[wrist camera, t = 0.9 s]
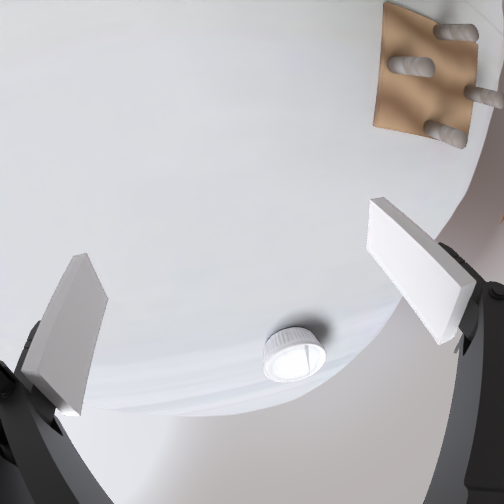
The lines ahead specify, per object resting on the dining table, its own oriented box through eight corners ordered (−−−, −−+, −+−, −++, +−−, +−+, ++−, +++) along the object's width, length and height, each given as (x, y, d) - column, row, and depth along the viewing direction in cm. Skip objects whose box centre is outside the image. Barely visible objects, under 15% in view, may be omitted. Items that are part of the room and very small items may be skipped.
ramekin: (329, 337, 56) (338, 357, 52) (285, 368, 60) (291, 389, 55) (292, 312, 51) (301, 334, 47) (246, 348, 54) (250, 371, 50)
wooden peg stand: (383, 3, 27) (420, -6, 20) (472, 44, 30) (510, 48, 23) (372, 125, 36) (408, 139, 29) (461, 145, 39) (496, 161, 32)
